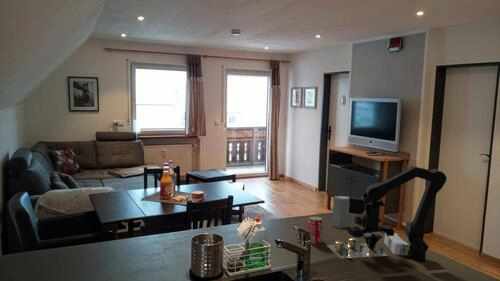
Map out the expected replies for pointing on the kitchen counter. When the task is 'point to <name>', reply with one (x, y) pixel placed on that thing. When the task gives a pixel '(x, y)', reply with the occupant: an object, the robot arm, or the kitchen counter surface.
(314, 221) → the soda can
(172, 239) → the kitchen counter surface
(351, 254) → the base plate
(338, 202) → the skincare box
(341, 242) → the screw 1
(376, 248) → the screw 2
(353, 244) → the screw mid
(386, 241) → the syrup box
